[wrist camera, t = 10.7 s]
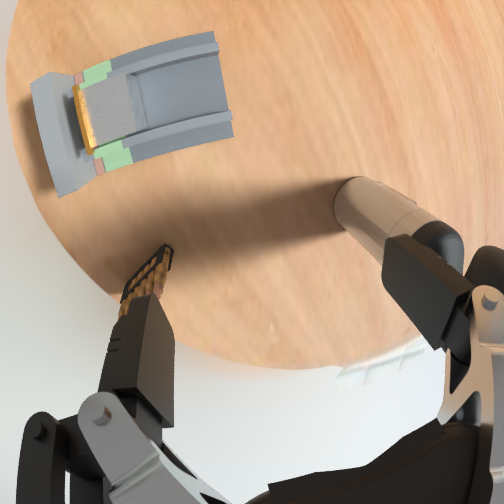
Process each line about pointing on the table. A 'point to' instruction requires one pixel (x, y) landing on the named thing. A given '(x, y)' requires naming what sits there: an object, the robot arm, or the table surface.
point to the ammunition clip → (148, 278)
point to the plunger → (109, 109)
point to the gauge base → (154, 103)
